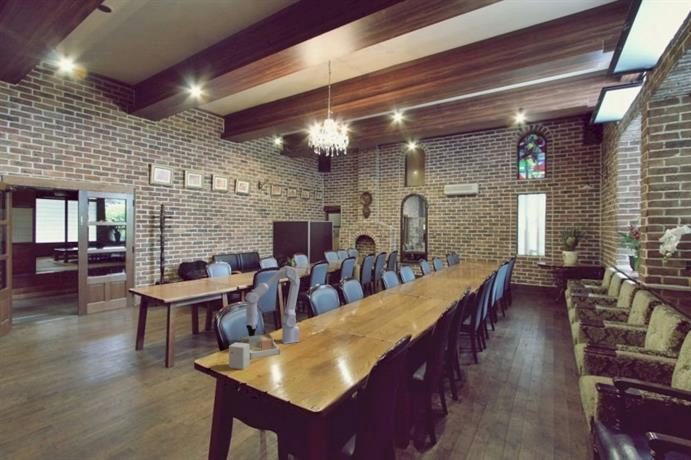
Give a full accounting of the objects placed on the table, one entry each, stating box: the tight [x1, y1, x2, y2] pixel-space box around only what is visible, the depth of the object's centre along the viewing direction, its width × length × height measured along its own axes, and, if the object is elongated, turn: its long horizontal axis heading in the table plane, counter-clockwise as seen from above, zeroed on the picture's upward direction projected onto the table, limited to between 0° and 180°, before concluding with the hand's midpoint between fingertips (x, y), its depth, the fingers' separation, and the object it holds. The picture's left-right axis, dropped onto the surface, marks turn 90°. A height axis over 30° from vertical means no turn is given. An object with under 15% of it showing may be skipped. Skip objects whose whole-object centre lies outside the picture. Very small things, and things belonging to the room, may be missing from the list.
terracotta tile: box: [261, 339, 271, 351], centre depth 181 cm, size 5×5×2 cm
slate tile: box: [246, 335, 258, 344], centre depth 183 cm, size 5×5×2 cm
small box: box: [228, 342, 251, 370], centre depth 160 cm, size 8×6×10 cm
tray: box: [250, 341, 281, 360], centre depth 177 cm, size 16×12×3 cm
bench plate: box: [240, 333, 275, 350], centre depth 188 cm, size 16×12×4 cm
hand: (251, 338), depth 186 cm, fingers closed
